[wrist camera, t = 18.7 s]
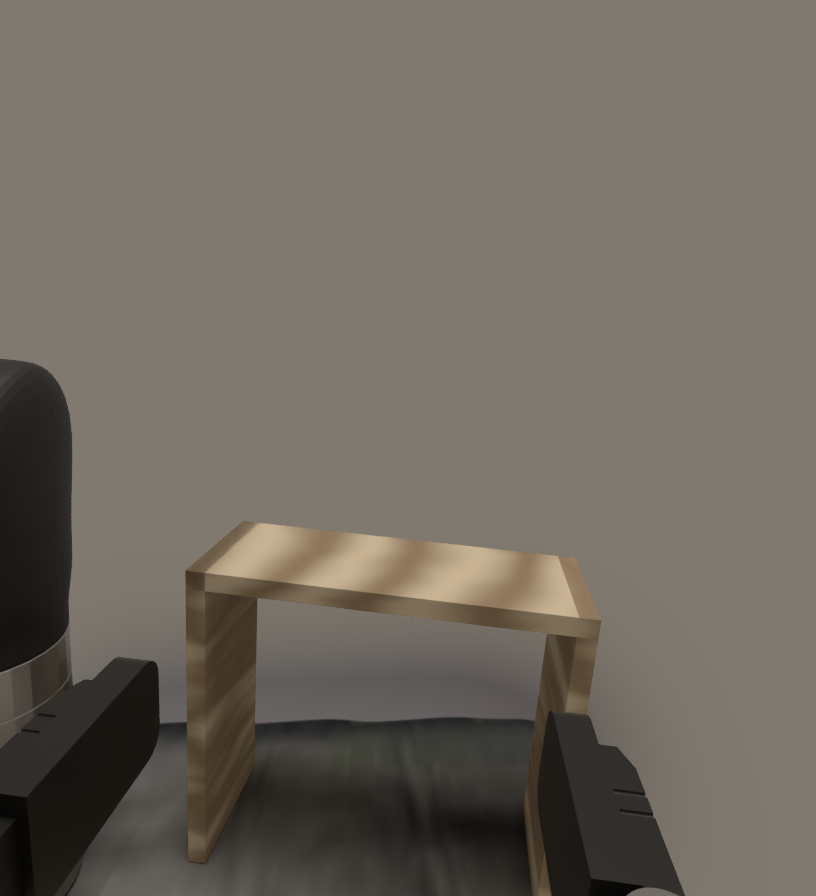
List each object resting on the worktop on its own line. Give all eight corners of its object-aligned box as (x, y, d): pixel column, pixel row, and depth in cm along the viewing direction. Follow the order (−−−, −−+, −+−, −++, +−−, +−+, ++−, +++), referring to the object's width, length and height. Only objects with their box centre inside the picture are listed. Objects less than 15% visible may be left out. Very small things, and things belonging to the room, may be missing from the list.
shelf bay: (188, 860, 40) (185, 570, 35) (240, 763, 49) (243, 521, 44) (553, 922, 38) (601, 620, 33) (538, 809, 46) (574, 557, 42)
